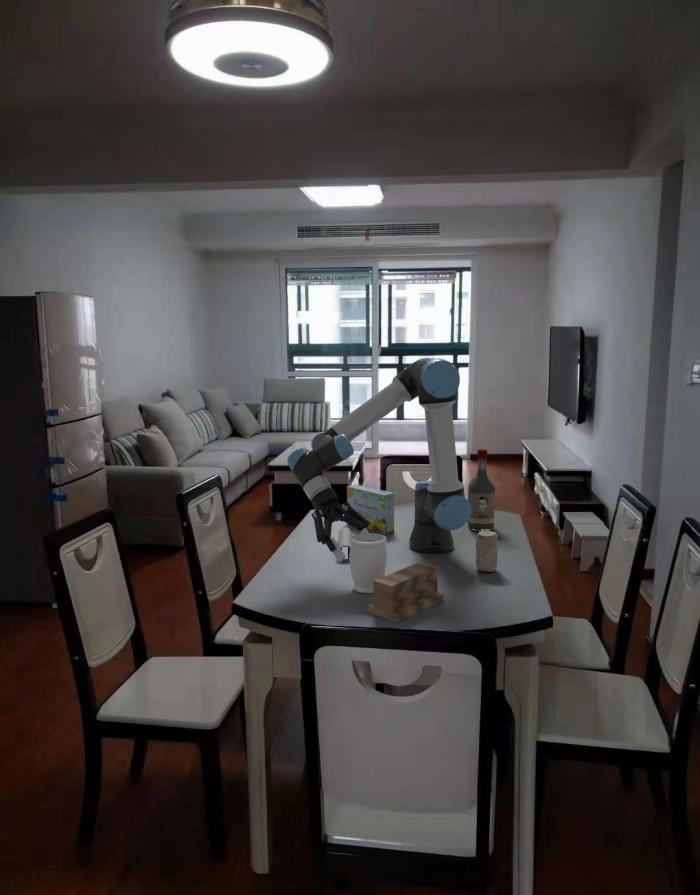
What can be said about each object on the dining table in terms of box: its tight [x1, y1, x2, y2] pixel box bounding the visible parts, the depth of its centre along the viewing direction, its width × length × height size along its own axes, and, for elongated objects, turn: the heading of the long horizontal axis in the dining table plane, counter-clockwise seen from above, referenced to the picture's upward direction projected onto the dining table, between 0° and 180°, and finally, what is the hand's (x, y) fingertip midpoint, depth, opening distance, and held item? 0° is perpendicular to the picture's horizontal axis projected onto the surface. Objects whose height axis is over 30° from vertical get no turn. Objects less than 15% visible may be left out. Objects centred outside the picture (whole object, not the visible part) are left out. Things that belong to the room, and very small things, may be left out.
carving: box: [475, 530, 499, 573], centre depth 204 cm, size 6×8×12 cm
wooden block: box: [367, 561, 445, 623], centre depth 176 cm, size 20×10×9 cm, turn 138°
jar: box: [348, 532, 388, 594], centre depth 189 cm, size 11×10×15 cm
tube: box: [337, 527, 353, 561], centre depth 227 cm, size 5×5×25 cm
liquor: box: [466, 448, 496, 530], centre depth 251 cm, size 9×9×30 cm
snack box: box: [346, 483, 395, 535], centre depth 253 cm, size 21×6×15 cm, turn 42°
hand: (358, 554), depth 190 cm, fingers open, 13 cm apart
